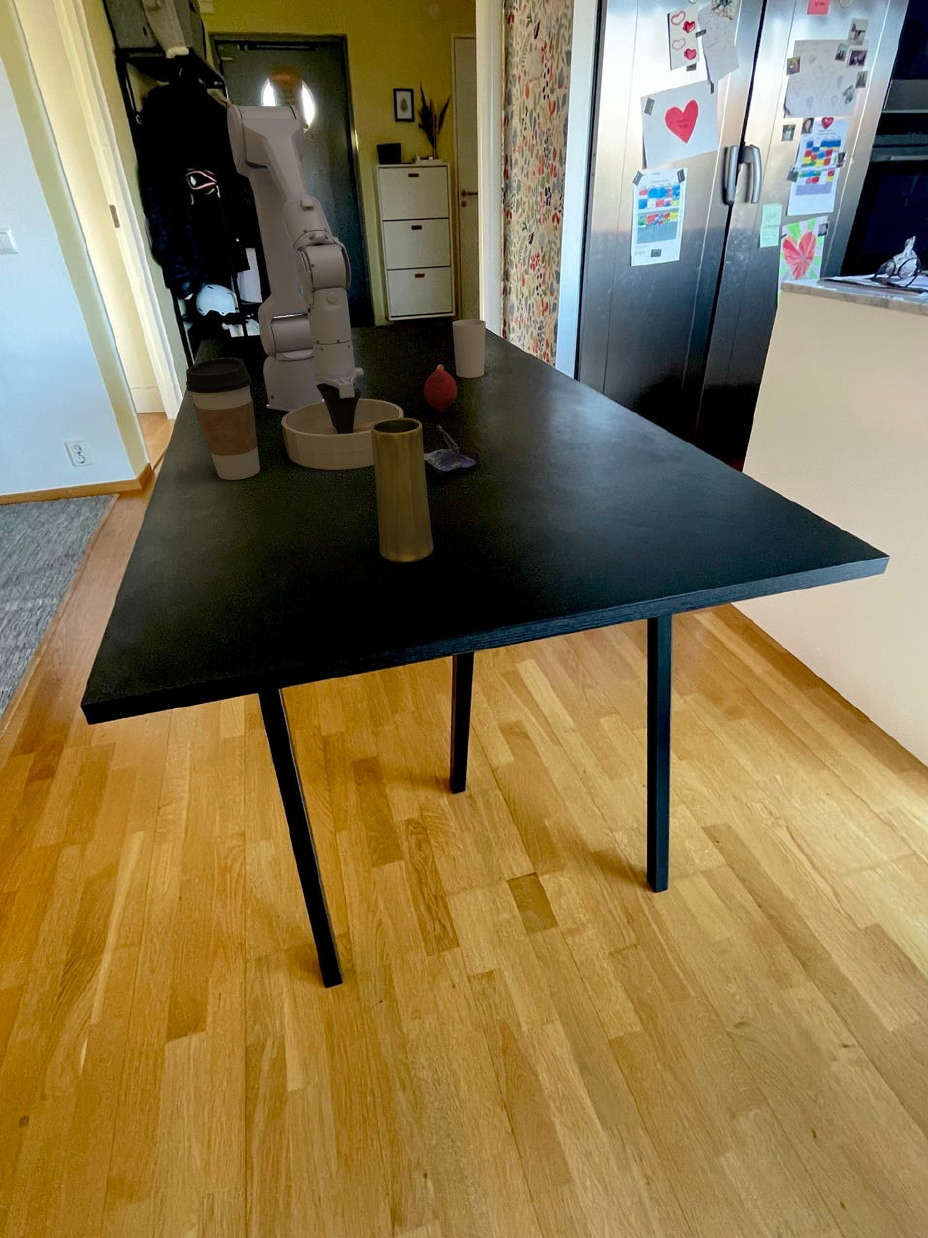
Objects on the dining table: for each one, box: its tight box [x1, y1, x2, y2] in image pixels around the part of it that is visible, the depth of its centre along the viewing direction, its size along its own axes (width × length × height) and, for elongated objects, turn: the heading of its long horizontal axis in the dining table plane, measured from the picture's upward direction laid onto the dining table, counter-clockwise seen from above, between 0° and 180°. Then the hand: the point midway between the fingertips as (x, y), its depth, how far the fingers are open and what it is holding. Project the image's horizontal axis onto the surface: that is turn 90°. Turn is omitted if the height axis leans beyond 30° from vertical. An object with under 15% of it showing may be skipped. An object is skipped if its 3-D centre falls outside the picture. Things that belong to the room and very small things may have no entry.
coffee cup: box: [185, 356, 261, 481], centre depth 92 cm, size 8×8×15 cm
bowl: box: [280, 398, 405, 471], centre depth 102 cm, size 18×18×5 cm
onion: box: [423, 364, 458, 413], centre depth 115 cm, size 6×6×8 cm
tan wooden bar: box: [304, 421, 377, 435], centre depth 103 cm, size 12×2×2 cm, turn 110°
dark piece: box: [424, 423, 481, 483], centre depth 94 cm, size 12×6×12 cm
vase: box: [371, 417, 435, 564], centre depth 71 cm, size 6×6×14 cm
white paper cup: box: [452, 318, 487, 379], centre depth 136 cm, size 7×7×10 cm
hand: (343, 433), depth 103 cm, fingers closed on tan wooden bar, 2 cm apart
